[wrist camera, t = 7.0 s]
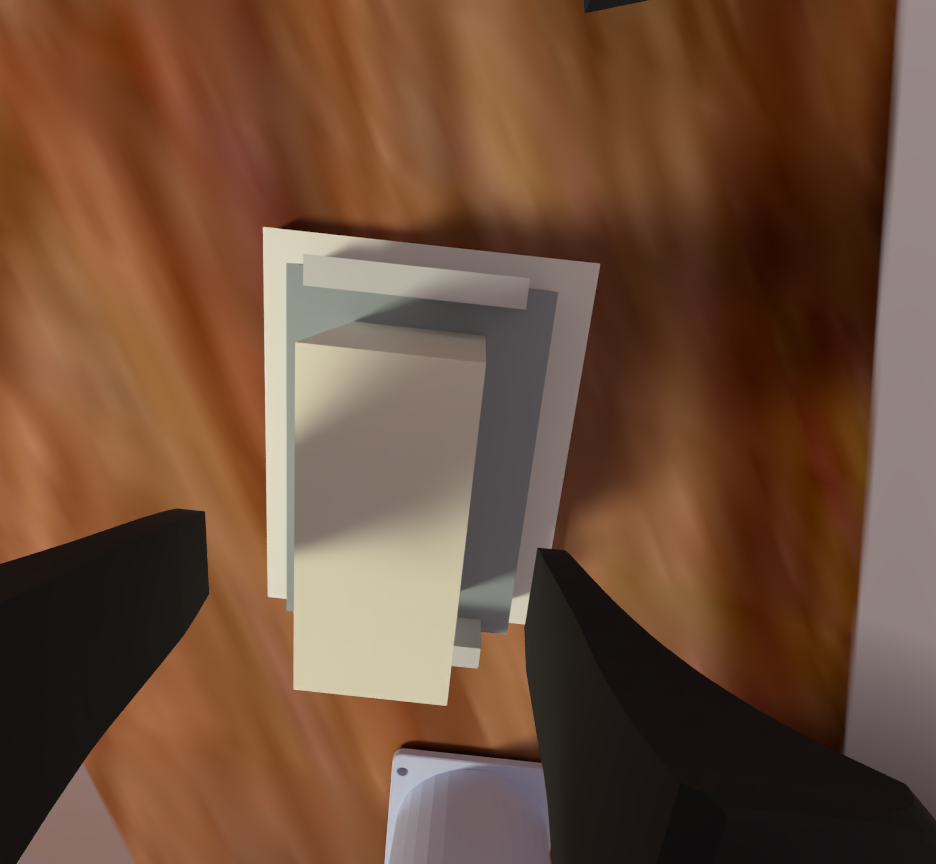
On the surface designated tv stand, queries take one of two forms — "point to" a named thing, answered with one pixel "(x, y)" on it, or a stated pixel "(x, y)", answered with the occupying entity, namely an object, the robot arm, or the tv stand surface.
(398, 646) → the cream rectangular box
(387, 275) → the display stand
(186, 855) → the tv stand surface
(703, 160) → the tv stand surface
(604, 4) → the watch
